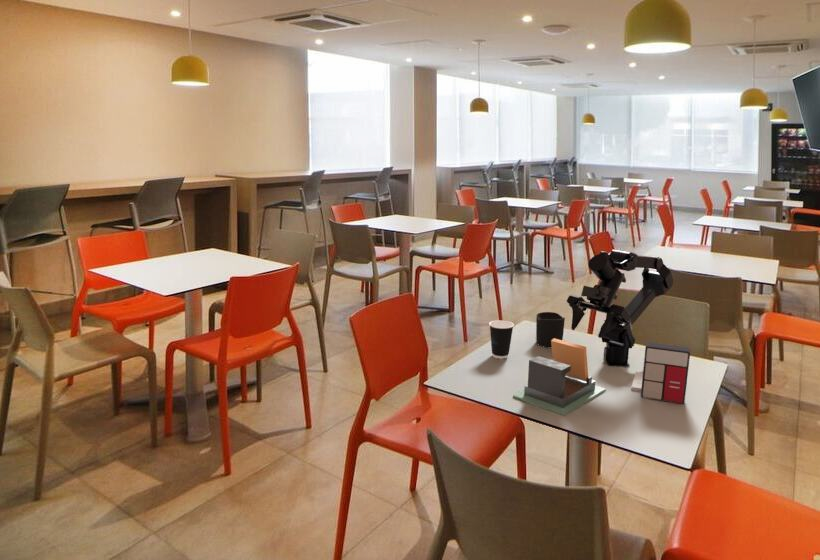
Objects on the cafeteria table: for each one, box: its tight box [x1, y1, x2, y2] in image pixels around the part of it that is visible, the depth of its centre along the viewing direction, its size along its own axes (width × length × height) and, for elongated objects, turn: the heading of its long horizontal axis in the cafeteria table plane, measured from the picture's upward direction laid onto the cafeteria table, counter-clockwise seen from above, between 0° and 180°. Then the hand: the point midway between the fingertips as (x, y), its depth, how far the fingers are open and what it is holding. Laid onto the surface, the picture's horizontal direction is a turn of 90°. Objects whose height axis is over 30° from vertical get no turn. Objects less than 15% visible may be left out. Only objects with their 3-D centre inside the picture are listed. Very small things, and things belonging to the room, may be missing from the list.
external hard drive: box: [630, 371, 643, 393], centre depth 178 cm, size 2×8×12 cm
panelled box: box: [640, 342, 691, 405], centre depth 166 cm, size 11×4×15 cm, turn 67°
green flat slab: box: [512, 385, 606, 417], centre depth 171 cm, size 22×16×1 cm
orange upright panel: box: [551, 338, 589, 382], centre depth 172 cm, size 2×10×11 cm, turn 43°
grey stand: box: [523, 355, 596, 408], centre depth 170 cm, size 17×12×10 cm
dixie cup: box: [488, 319, 515, 360], centre depth 198 cm, size 8×8×11 cm
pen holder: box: [535, 311, 566, 348], centre depth 210 cm, size 9×9×10 cm
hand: (585, 333), depth 180 cm, fingers open, 9 cm apart
